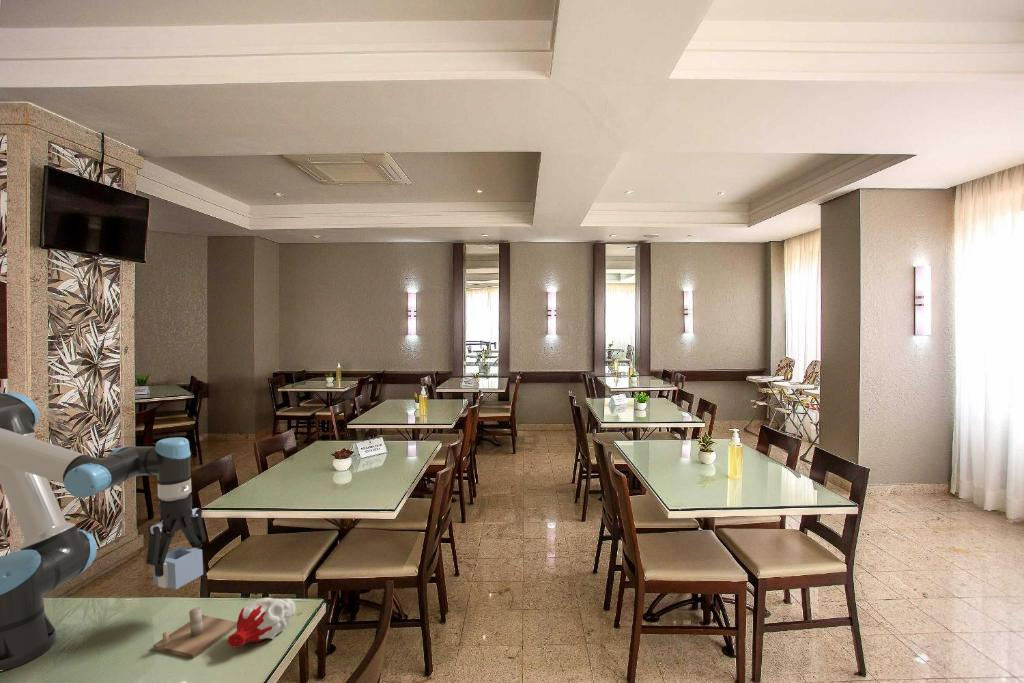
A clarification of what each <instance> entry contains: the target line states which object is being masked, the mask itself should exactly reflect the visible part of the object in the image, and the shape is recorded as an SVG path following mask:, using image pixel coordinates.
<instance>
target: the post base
mask: <svg viewBox="0 0 1024 683" xmlns="http://www.w3.org/2000/svg"><path fill="white" fill-rule="evenodd" d="M202 612H203V610H202V607H194V608H192V609H191V610H190V611H189V622H187V623H186V624H184V625H182V626H180V627H179V628H178V629H176V630H174V631H173V632H171V633H169V645H168V646H166V647H164V646H163V638H162V639H161V640H160V639H159V641H158V642H156V643H155V644H153V645H152V646H153V647H152V648H153V650H157V651H159V652H165V653H169V654H173V655H177V656H181V657H185V658H189V659H195V658H197V656H199V655H200V654H202V653H203V652H204V651H206V650H208V649H209V648H211V646H213V645H214V644H216V643H217V642H218V641H220V640H221V639H223V638H224V637H225V636H226V635H229V634H230V633H231V632H232V631H234V630H235V629H237V621H233V620H228V619H224V618H218V617H214V616H208V615H204V614H203V613H202Z"/></svg>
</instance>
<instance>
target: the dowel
mask: <svg viewBox="0 0 1024 683" xmlns="http://www.w3.org/2000/svg"><path fill="white" fill-rule="evenodd" d="M169 635H170V633H169V632H168V631H165V632H163V633H162V639H163V646H164V647H166V646H168V645H169Z"/></svg>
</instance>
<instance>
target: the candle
mask: <svg viewBox="0 0 1024 683" xmlns="http://www.w3.org/2000/svg"><path fill="white" fill-rule="evenodd" d="M296 610H297V607H296V602H295V600H293V599H292V598H282V599H279V598H272V597H262V598H259V599H256V600H255V601H253V602H251V603H249V604H248V605H246V606H245V607H242V609H241V610H240V612H239V615H238V618H237V620H236V622H237V627H236V630H235V631H234V632H233V633H232V634H230V635H229V636H228V638H227V640H226V641H227V644H228V645H229V646H231V647H232V648H234V647H237V648H239V647H241V646H244V645H245V644H246V643H259V642H261V641H264V640H265V639H271V640H273V639H274V638H275V637H276V636H277V635H278V634H280V633H281V632H282V631H283V630H285V629H286V628H287V627H288V625H289V624H290V622H291V619H292V618H293V617H294V616H295V614H296Z"/></svg>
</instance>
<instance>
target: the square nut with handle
mask: <svg viewBox="0 0 1024 683" xmlns="http://www.w3.org/2000/svg"><path fill="white" fill-rule="evenodd" d="M190 547H191V546H183V545H179V546H177V547H174V548H173V549H171V550H168V552H167V555H166V558H165V561H164V562H167V565H168V587H167V588H168V589H171V590H178V589H180V588H181V587H183V586H185V585H186V584H188V583H190V582H192V581H194V580H196V579H198V578H199V577H201V576H203V575H204V565H203V564H204V563H203V562H204V561H203V560H204V559H203V549H200V548H199V549H195V548H190ZM152 577H153V585H154V586H158V577H157V576H156V575H155V566H153V565H152ZM167 588H166V589H167Z"/></svg>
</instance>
